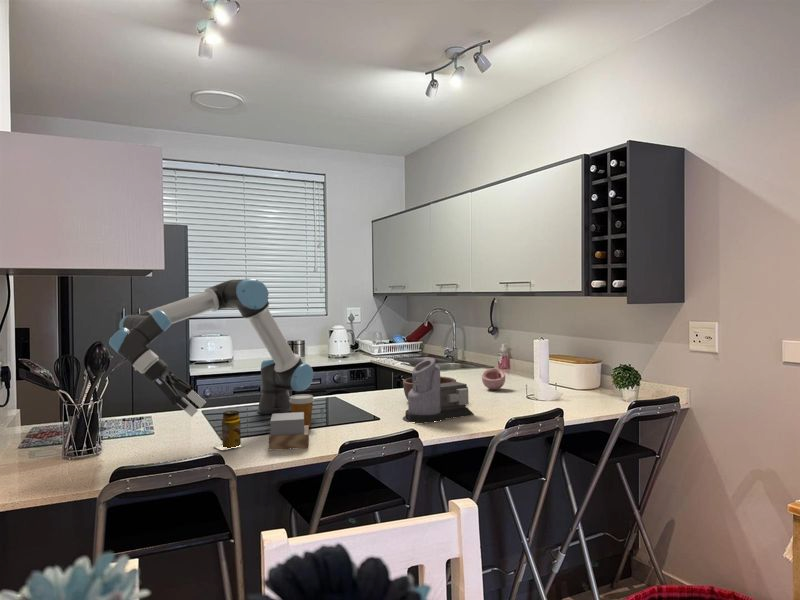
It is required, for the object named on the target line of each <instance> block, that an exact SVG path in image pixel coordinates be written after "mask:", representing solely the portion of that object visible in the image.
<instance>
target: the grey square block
mask: <svg viewBox="0 0 800 600" xmlns="http://www.w3.org/2000/svg"><path fill="white" fill-rule="evenodd" d="M269 422H270V427H269V428H270V431H271V436H277V435H293V434H304V412H295V413H292V412H286V413H277V414H271V418H270V421H269Z"/></svg>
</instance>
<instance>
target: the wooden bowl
mask: <svg viewBox="0 0 800 600" xmlns="http://www.w3.org/2000/svg"><path fill="white" fill-rule="evenodd" d="M450 382H457V380H456V379H455V378H452V377H450V376H449V377H447V376H441V375H440V384H442V383H450ZM402 388H403V392H404V395H405V398H406V400H407V401H408V393H409V391H410V390H411V389H412V388H413V383H412V377H408V378H405V379H403V381H402Z"/></svg>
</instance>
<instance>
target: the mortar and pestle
mask: <svg viewBox="0 0 800 600" xmlns="http://www.w3.org/2000/svg"><path fill="white" fill-rule="evenodd" d="M481 382H482V384H483V385H484V386H485V388H487V389H488V390H491V391H496V390H499V389H501V388H502V387H503V386H504V385H505V383H506V374H505V372H504V371H503V370H501V369H498V368H494V367H492V368H489V369H486V370H485V371H483V372H482V374H481Z"/></svg>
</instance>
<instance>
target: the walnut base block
mask: <svg viewBox="0 0 800 600" xmlns="http://www.w3.org/2000/svg"><path fill="white" fill-rule="evenodd" d="M309 442H310V428H309V425H304V434H293V435H277V436H271V430H270V431H269V435H268V450H269V449H283V450H294V449H293V448H300V449H309V448H308V447H309ZM290 448H291V449H290Z"/></svg>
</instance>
